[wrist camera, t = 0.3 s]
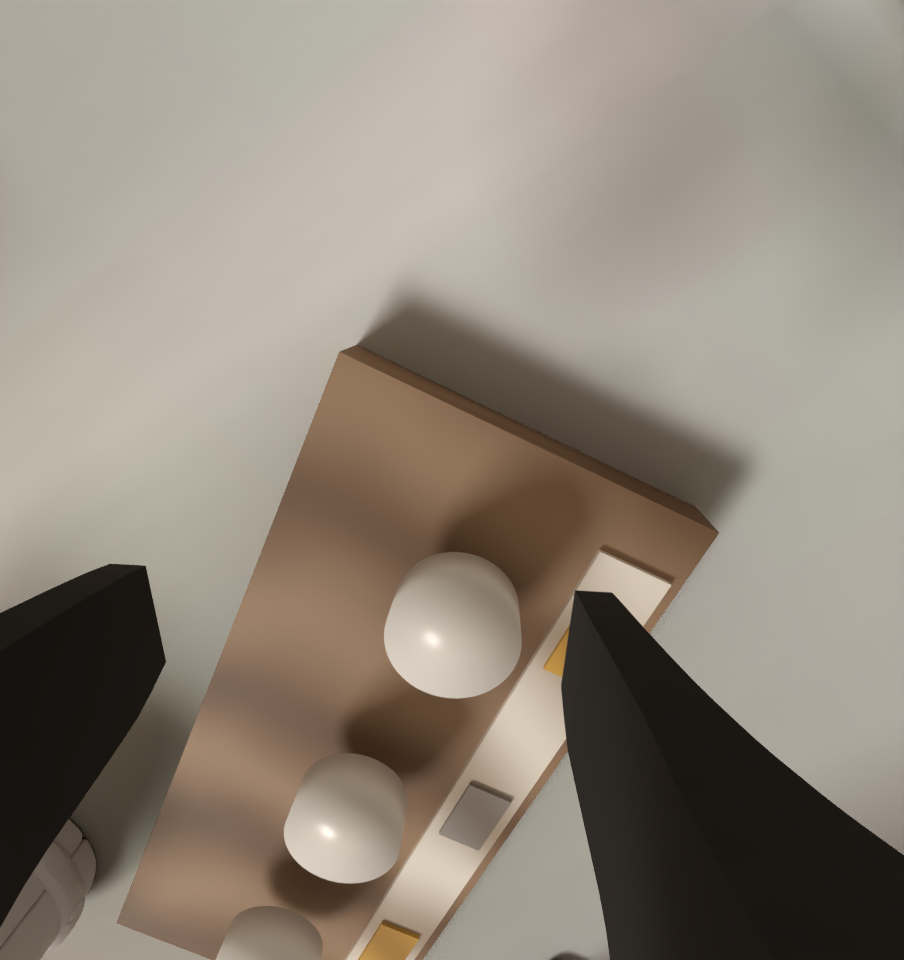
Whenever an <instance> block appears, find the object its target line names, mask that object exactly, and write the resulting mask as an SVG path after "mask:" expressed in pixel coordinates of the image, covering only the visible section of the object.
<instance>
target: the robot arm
mask: <svg viewBox="0 0 904 960" xmlns="http://www.w3.org/2000/svg"><path fill="white" fill-rule="evenodd" d="M165 663H166V660H165V655H164V650H163V646H162V641H161V636H160V631H159V627H158V622H157V617H156V613H155V608H154V603H153V599H152V594H151V589H150V584H149V580H148V575H147V570H146V566H139V565H121V564H109V565H106V566H103V567H101V568H98V569H95V570H93V571H90V572H88V573H85V574H83V575H81V576H79V577H76V578H74V579H72V580H70V581H67V582H65V583H63V584H61V585H59V586H57V587H54V588H52V589H50V590H48V591H46V592H44V593H42V594H40V595H37V596H35V597H33V598H31V599H29V600H27V601H25V602H23V603H21V604H18V605H16V606H14V607H12V608H10V609H8V610H6V611H4V612H2V613H0V927H1V926H2V924H3V922H4V920H5V919H6V917H7V915H8V913H9V912H10V910H11V908H12V906H13V905H14V903H15V901H16V899H17V898H18V896H19V894H20V892H21V891H22V889H23V887H24V885H25V884H26V882H27V881H28V879H29V878H30V876H31V875H32V873H33V871H34V870H35V868H36V867H37V865H38V864H39V862H40V860H41V859H42V857H43V856H44V854H45V853H46V851H47V850H48V848H49V847H50V845H51V844H52V842H53V841H54V840H55V838H56V837H57V835H58V834H59V832H60V831H61V829H62V828H63V826H64V825H65V824H66V822H67V821H68V819H69V818H70V816H71V815H72V813H73V812H74V810H75V809H76V808H77V806H78V805H79V803H80V802H81V800H82V799H83V797H84V796H85V795H86V793H87V792H88V790H89V789H90V787H91V786H92V784H93V783H94V781H95V780H96V779H97V777H98V776H99V774H100V773H101V771H102V770H103V768H104V767H105V766H106V764H107V763H108V761H109V760H110V758H111V757H112V755H113V754H114V752H115V751H116V749H117V748H118V746H119V745H120V743H121V742H122V740H123V739H124V737H125V736H126V734H127V733H128V731H129V730H130V728H131V727H132V725H133V724H134V722H135V721H136V719H137V718H138V716H139V714H140V712H141V710H142V708H143V707H144V705H145V703H146V701H147V699H148V697H149V695H150V693H151V692H152V689H153V687H154V685H155V683H156V681H157V679H158V677H159V675H160V673H161V671H162V669H163V667H164V665H165ZM561 692H562V703H563V714H564V723H565V732H566V741H567V748H568V753H569V757H570V762H571V767H572V771H573V776H574V781H575V785H576V790H577V794H578V799H579V803H580V808H581V812H582V817H583V821H584V826H585V830H586V835H587V839H588V844H589V848H590V853H591V857H592V862H593V866H594V871H595V875H596V880H597V884H598V889H599V894H600V899H601V904H602V910H603V915H604V921H605V926H606V932H607V940H608V947H609V955H610V960H904V855H902V854H901V853H900V852H898V851H897V850H895V849H894V848H893V847H891V846H890V845H889V844H887V843H886V842H884V841H883V840H882V839H880V838H879V837H878V836H876V835H875V834H873V833H872V832H871V831H869V830H868V829H866V828H865V827H864V826H862V825H861V824H860V823H858V822H857V821H856V820H854V819H853V818H852V817H850V816H849V815H848V814H846V813H845V812H844V811H842V810H841V809H840V808H839V807H837V806H836V805H835V804H833V803H832V802H831V801H829V800H828V799H827V798H826V797H824V796H823V795H822V794H820V793H819V792H818V791H817V790H816V789H814V788H813V787H812V786H811V785H809V784H808V783H807V782H806V781H805V780H803V779H802V778H801V777H800V776H798V775H797V774H796V773H795V772H794V771H792V770H791V769H790V768H789V767H787V766H786V765H785V764H784V763H783V762H781V761H780V760H779V759H778V758H776V757H775V756H774V755H773V754H772V753H771V752H769V751H768V750H767V749H766V748H765V747H764V746H763V745H761V744H760V743H759V742H758V741H757V740H756V739H755V738H753V737H752V736H751V735H750V734H749V733H748V732H747V731H746V730H745V729H744V728H743V727H741V726H740V725H739V724H738V723H737V722H736V721H735V720H734V719H733V718H732V717H731V716H730V715H729V714H727V713H726V712H725V711H724V710H723V709H722V708H721V707H720V706H719V705H718V704H717V703H716V702H715V701H714V700H713V699H712V698H711V697H710V696H709V695H708V694H706V693H705V692H704V691H703V690H702V689H701V688H700V687H699V686H698V685H697V684H696V683H695V682H694V681H693V680H692V679H691V678H690V677H689V676H688V674H687V673H686V672H685V671H684V670H683V669H682V668H681V667H680V666H679V665H678V664H677V663H676V662H675V661H674V660H673V659H672V658H671V657H670V656H669V655H668V654H667V652H666V651H665V650H664V649H663V648H662V647H661V646H660V645H659V644H658V643H657V642H656V641H655V639H654V638H653V637H652V636H651V635H650V634H649V633H648V632H647V631H646V629H645V628H644V627H643V626H642V625H641V624H640V623H639V622H638V621H637V619H636V618H635V617H634V616H633V615H632V614H631V613H630V612H629V610H628V609H627V608H626V607H625V606H624V605H623V604H622V603H621V601H620V600H619V599H618V598H617V597H616V596H615V595H614V594H613V593H612V592H595V591H578V590H575V593H574V600H573V607H572V614H571V621H570V628H569V634H568V641H567V648H566V655H565V662H564V668H563V675H562V682H561Z"/></svg>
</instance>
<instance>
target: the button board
mask: <svg viewBox="0 0 904 960" xmlns="http://www.w3.org/2000/svg"><path fill="white" fill-rule="evenodd" d="M718 534H719V532H718V531H717V530H716V529H715V528H714V527H713V526H712V525H711V524H710V522H709V521H708V520H707V519H706V518H705V517H704V516H703V515H702V514H701V513H700V511H699V510H698V509H697V508H696V507H693V506H691V505H689V504H687V503H685V502H683V501H681V500H679V499H677V498H675V497H673V496H670V495H668V494H666V493H664V492H662V491H660V490H658V489H656V488H654V487H652V486H650V485H647V484H645V483H643V482H641V481H639V480H637V479H635V478H633V477H631V476H629V475H627V474H624V473H622V472H620V471H618V470H616V469H614V468H612V467H610V466H608V465H606V464H604V463H601V462H599V461H597V460H595V459H593V458H591V457H589V456H587V455H585V454H583V453H581V452H579V451H576V450H574V449H572V448H570V447H568V446H566V445H564V444H562V443H560V442H558V441H556V440H553V439H551V438H549V437H547V436H545V435H543V434H541V433H539V432H537V431H535V430H533V429H530V428H528V427H526V426H524V425H522V424H520V423H518V422H516V421H514V420H512V419H510V418H507V417H505V416H503V415H501V414H499V413H497V412H495V411H493V410H491V409H489V408H487V407H484V406H482V405H480V404H478V403H476V402H474V401H472V400H470V399H468V398H466V397H464V396H461V395H459V394H457V393H455V392H453V391H451V390H449V389H447V388H445V387H443V386H441V385H439V384H436V383H434V382H432V381H430V380H428V379H426V378H424V377H422V376H420V375H418V374H416V373H413V372H411V371H409V370H407V369H405V368H403V367H401V366H399V365H397V364H395V363H393V362H390V361H388V360H386V359H384V358H382V357H380V356H378V355H376V354H374V353H372V352H370V351H367V350H365V349H363V348H361V347H359V346H357V345H355V346H353V347H350V348H348V349H345V350H343V351H340V352H339V354H338V357H337V359H336V362H335V364H334V367H333V369H332V372H331V375H330V377H329V380H328V382H327V385H326V387H325V390H324V393H323V395H322V398H321V400H320V403H319V405H318V408H317V410H316V413H315V416H314V418H313V421H312V423H311V426H310V428H309V431H308V434H307V436H306V439H305V441H304V444H303V446H302V449H301V452H300V454H299V457H298V459H297V462H296V464H295V467H294V469H293V472H292V475H291V477H290V480H289V482H288V485H287V487H286V490H285V493H284V495H283V498H282V500H281V503H280V505H279V508H278V510H277V513H276V516H275V518H274V521H273V523H272V526H271V528H270V531H269V534H268V536H267V539H266V541H265V544H264V546H263V549H262V551H261V554H260V557H259V559H258V562H257V564H256V567H255V569H254V572H253V575H252V577H251V580H250V582H249V585H248V587H247V590H246V592H245V595H244V598H243V600H242V603H241V605H240V608H239V610H238V613H237V616H236V618H235V621H234V623H233V626H232V628H231V631H230V633H229V636H228V639H227V641H226V644H225V646H224V649H223V651H222V654H221V657H220V659H219V662H218V664H217V667H216V669H215V672H214V675H213V677H212V680H211V682H210V685H209V687H208V690H207V692H206V695H205V698H204V700H203V703H202V705H201V708H200V710H199V713H198V716H197V718H196V721H195V723H194V726H193V728H192V731H191V733H190V736H189V739H188V741H187V744H186V746H185V749H184V751H183V754H182V757H181V759H180V762H179V764H178V767H177V769H176V772H175V774H174V777H173V780H172V782H171V785H170V787H169V790H168V792H167V795H166V798H165V800H164V803H163V805H162V808H161V810H160V813H159V815H158V818H157V821H156V823H155V826H154V828H153V831H152V833H151V836H150V839H149V841H148V844H147V846H146V849H145V851H144V854H143V856H142V859H141V862H140V864H139V867H138V869H137V872H136V874H135V877H134V880H133V882H132V885H131V887H130V890H129V892H128V895H127V898H126V900H125V903H124V905H123V908H122V910H121V913H120V915H119V918H118V921H117V923H118V924H120V925H123V926H125V927H128V928H131V929H133V930H136V931H138V932H141V933H144V934H146V935H149V936H151V937H154V938H157V939H159V940H162V941H164V942H167V943H170V944H172V945H175V946H177V947H180V948H183V949H185V950H188V951H190V952H193V953H196V954H198V955H201V956H203V957H206V958H209V959H211V960H216V958H217V955H218V953H219V950H220V948H221V946H222V943H223V941H224V938H225V936H226V934H227V931H228V929H229V926H230V924H231V922H232V920H233V919H234V918H235V917H236V915H238V914H239V913H240V912H242V911H244V910H246V909H249V908H252V907H257V906H275V907H281V908H285V909H288V910H291V911H293V912H295V913H298V914H299V915H301V916H303V917H304V918H306V919H307V920H308V921H310V922H311V923H312V924H313V925H314V926H315V928H316V929H317V930H318V932H319V934H320V936H321V938H322V942H323V950H322V954H321V958H320V960H423V958H424V957H425V956H426V954H427V953H428V951H429V950H430V948H431V947H432V945H433V944H434V943H435V941H436V940H437V938H438V937H439V935H440V934H441V932H442V931H443V930H444V928H445V927H446V925H447V924H448V922H449V921H450V920H451V918H452V917H453V915H454V914H455V912H456V911H457V909H458V908H459V907H460V905H461V904H462V902H463V901H464V899H465V898H466V896H467V895H468V894H469V892H470V891H471V889H472V888H473V886H474V885H475V884H476V882H477V881H478V879H479V878H480V876H481V875H482V873H483V872H484V871H485V869H486V868H487V866H488V865H489V863H490V862H491V861H492V859H493V858H494V856H495V855H496V853H497V852H498V850H499V849H500V848H501V846H502V845H503V843H504V842H505V840H506V839H507V837H508V836H509V835H510V833H511V832H512V830H513V829H514V827H515V826H516V825H517V823H518V822H519V820H520V819H521V817H522V816H523V814H524V813H525V812H526V810H527V809H528V807H529V806H530V804H531V803H532V801H533V800H534V799H535V797H536V796H537V794H538V793H539V791H540V790H541V789H542V787H543V786H544V784H545V783H546V781H547V780H548V778H549V777H550V776H551V774H552V773H553V771H554V770H555V768H556V767H557V765H558V764H559V763H560V761H561V760H562V758H563V757H564V755H565V754H566V753H567V751H568V748H567V741H566V732H565V723H564V714H563V703H562V692H561V682H562V675H563V668H564V662H565V655H566V648H567V641H568V634H569V628H570V621H571V614H572V607H573V600H574V593H575V590H578V591H595V592H612V593H613V594H614V595H615V596H616V597H617V598H618V599H619V600H620V601H621V603H622V604H623V605H624V606H625V607H626V608H627V609H628V610H629V612H630V613H631V614H632V615H633V616H634V617H635V618H636V619H637V621H638V622H639V623H640V624H641V625H642V626H643V627H644V628H645V629H646V631H647V632H648V633H650V632H651V630H652V629H653V627H654V626H655V624H656V623H657V621H658V620H659V619H660V617H661V616H662V614H663V613H664V611H665V610H666V609H667V607H668V606H669V604H670V603H671V601H672V600H673V598H674V597H675V596H676V594H677V593H678V591H679V590H680V588H681V587H682V586H683V584H684V583H685V581H686V580H687V578H688V577H689V575H690V574H691V573H692V571H693V570H694V568H695V567H696V565H697V564H698V562H699V561H700V560H701V558H702V557H703V555H704V554H705V552H706V551H707V550H708V548H709V547H710V545H711V544H712V542H713V541H714V539H715V538H716V537H717V535H718ZM446 552H462V553H469V554H473V555H476V556H479V557H482V558H484V559H486V560H488V561H490V562H491V563H493V564H494V565H496V566H497V567H498V568H499V569H501V570H502V571H503V572H504V573H505V574H506V576H507V577H508V578H509V580H510V581H511V583H512V584H513V586H514V588H515V591H516V593H517V597H518V602H519V611H520V624H521V638H522V644H521V652H520V656H519V659H518V662H517V664H516V666H515V668H514V670H513V671H512V672H511V674H510V675H509V676H508V677H507V678H506V679H505V680H504V681H503V682H502V683H501V684H500V685H498V686H497V687H495V688H494V689H492V690H490V691H488V692H486V693H483V694H480V695H477V696H474V697H468V698H444V697H439V696H435V695H431V694H428V693H426V692H423V691H421V690H419V689H417V688H416V687H414V686H413V685H411V684H409V683H408V682H407V681H406V680H405V679H403V678H402V677H401V675H400V674H399V673H398V672H397V671H396V670H395V668H394V667H393V665H392V664H391V662H390V660H389V658H388V655H387V652H386V649H385V644H384V628H385V624H386V620H387V617H388V614H389V611H390V608H391V605H392V602H393V599H394V596H395V593H396V590H397V587H398V585H399V583H400V581H401V579H402V577H403V576H404V575H405V574H406V572H407V571H408V570H409V569H410V568H411V567H412V566H414V565H415V564H416V563H418V562H419V561H421V560H423V559H425V558H427V557H430V556H432V555H435V554H440V553H446ZM343 753H352V754H360V755H364V756H368V757H371V758H373V759H376V760H378V761H380V762H382V763H383V764H385V765H387V766H388V767H389V768H390V769H392V770H393V771H394V772H395V773H396V774H397V775H398V777H399V778H400V779H401V781H402V783H403V784H404V786H405V789H406V792H407V797H408V804H407V811H406V817H405V823H404V829H403V835H402V840H401V846H400V852H399V856H398V858H397V860H396V862H395V864H394V865H393V867H392V868H391V869H390V870H389V871H388V872H386V873H385V874H384V875H382V876H380V877H378V878H376V879H374V880H371V881H367V882H362V883H351V884H349V883H338V882H333V881H329V880H326V879H323V878H320V877H318V876H316V875H314V874H312V873H311V872H309V871H307V870H306V869H305V868H303V867H302V866H301V865H300V864H299V863H297V861H296V860H295V859H294V858H293V857H292V855H291V854H290V852H289V850H288V848H287V846H286V843H285V840H284V826H285V822H286V820H287V817H288V815H289V812H290V810H291V807H292V804H293V802H294V799H295V797H296V794H297V792H298V789H299V787H300V784H301V782H302V779H303V776H304V775H305V773H306V771H307V770H308V769H309V768H310V767H311V766H312V765H313V764H314V763H315V762H317V761H319V760H320V759H322V758H325V757H327V756H331V755H335V754H343Z"/></svg>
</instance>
